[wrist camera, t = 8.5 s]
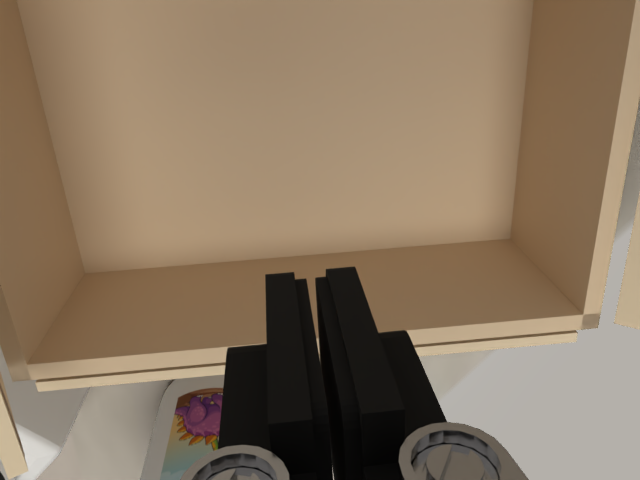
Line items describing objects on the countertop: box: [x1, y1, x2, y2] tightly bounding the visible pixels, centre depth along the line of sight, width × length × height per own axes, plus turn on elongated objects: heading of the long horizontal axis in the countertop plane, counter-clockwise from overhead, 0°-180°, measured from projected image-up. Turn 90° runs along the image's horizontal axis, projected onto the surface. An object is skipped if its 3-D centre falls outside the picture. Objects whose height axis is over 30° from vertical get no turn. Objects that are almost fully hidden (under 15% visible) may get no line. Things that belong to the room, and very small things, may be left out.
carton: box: [0, 0, 640, 392], centre depth 25 cm, size 26×20×9 cm
